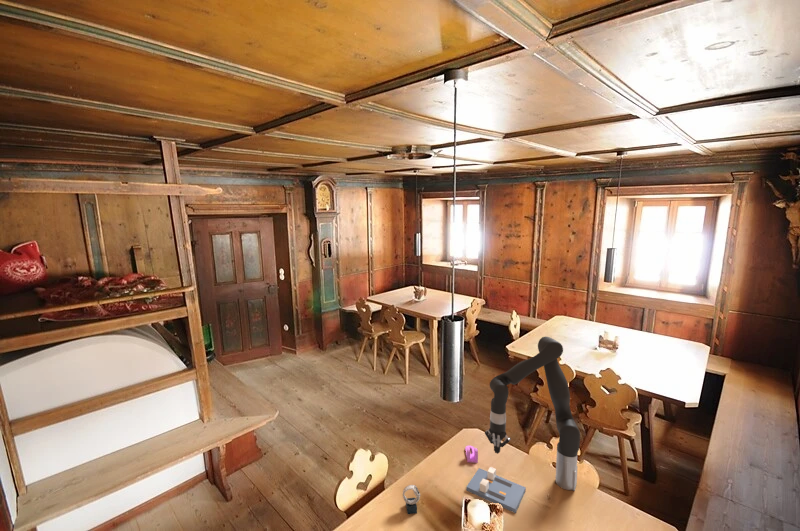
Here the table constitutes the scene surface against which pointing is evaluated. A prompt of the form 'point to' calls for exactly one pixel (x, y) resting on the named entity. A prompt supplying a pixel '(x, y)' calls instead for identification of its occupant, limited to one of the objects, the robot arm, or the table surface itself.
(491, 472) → the tab
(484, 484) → the tab
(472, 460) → the bracket
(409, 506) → the watch
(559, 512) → the table surface
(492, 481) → the switch bank
